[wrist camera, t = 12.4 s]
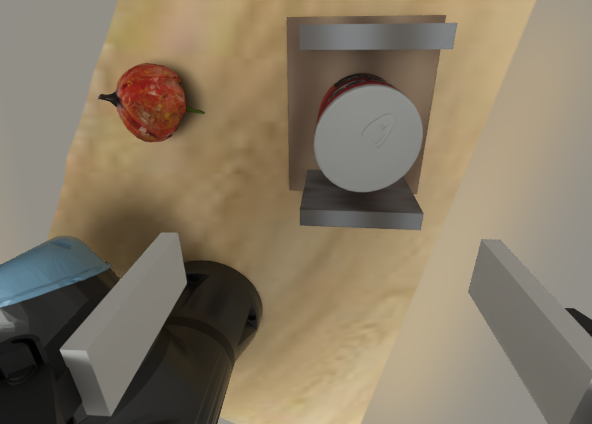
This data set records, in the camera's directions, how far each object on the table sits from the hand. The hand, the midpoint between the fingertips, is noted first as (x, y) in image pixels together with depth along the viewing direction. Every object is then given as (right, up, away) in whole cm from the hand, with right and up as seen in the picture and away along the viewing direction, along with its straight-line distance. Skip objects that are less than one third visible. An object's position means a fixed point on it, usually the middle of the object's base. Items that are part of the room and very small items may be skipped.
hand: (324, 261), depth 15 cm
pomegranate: (-15, +14, +22) cm, 30 cm away
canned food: (+5, +12, +19) cm, 23 cm away
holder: (+5, +13, +21) cm, 25 cm away
